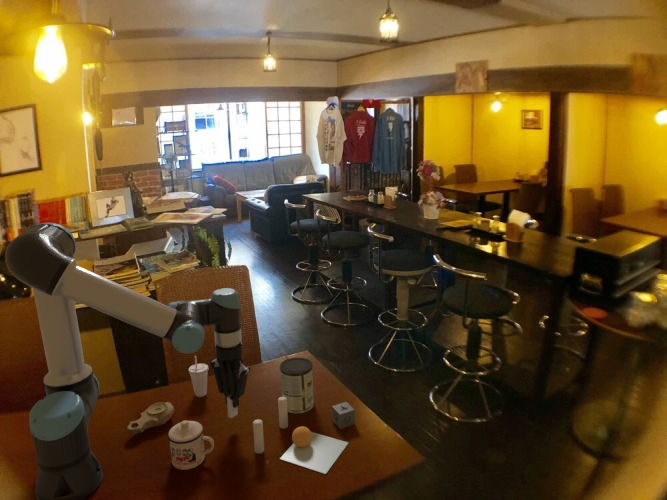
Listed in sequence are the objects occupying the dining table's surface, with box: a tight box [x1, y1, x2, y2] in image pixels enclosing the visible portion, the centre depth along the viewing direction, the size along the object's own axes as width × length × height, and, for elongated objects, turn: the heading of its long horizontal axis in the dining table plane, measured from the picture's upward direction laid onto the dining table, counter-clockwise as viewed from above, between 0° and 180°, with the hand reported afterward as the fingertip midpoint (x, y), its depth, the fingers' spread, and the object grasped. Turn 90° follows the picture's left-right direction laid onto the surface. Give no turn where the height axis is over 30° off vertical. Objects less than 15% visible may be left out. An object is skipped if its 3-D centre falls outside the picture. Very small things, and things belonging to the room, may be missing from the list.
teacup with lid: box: [167, 420, 215, 471], centre depth 134 cm, size 12×9×12 cm
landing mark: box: [279, 431, 349, 475], centre depth 138 cm, size 14×14×1 cm
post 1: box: [252, 419, 265, 455], centre depth 138 cm, size 3×3×9 cm
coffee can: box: [279, 357, 315, 414], centre depth 159 cm, size 10×10×14 cm
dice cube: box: [331, 401, 356, 430], centre depth 150 cm, size 5×5×5 cm
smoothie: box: [188, 355, 210, 398], centre depth 166 cm, size 6×6×14 cm
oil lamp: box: [126, 401, 175, 434], centre depth 151 cm, size 11×14×5 cm
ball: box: [291, 425, 312, 447], centre depth 140 cm, size 6×6×6 cm
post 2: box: [277, 396, 289, 429], centre depth 149 cm, size 3×3×9 cm
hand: (233, 415), depth 149 cm, fingers closed
